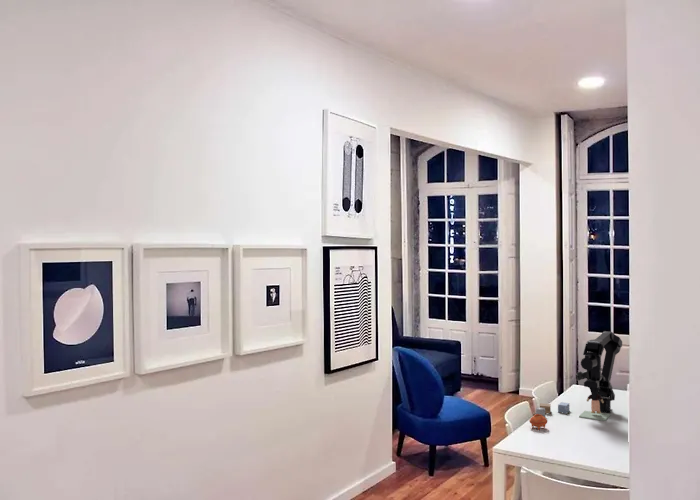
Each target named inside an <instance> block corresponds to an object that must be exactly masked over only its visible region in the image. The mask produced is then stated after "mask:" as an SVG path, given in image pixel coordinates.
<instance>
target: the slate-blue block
mask: <svg viewBox="0 0 700 500" xmlns="http://www.w3.org/2000/svg"><path fill="white" fill-rule="evenodd" d="M568 411H569V412H570V403H569V402H563V401H562V402H560V403H558V404H557V412H558V413H559V412H563V413H562V414H568V413H569V412H568Z"/></svg>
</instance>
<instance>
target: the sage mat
mask: <svg viewBox="0 0 700 500" xmlns="http://www.w3.org/2000/svg"><path fill="white" fill-rule="evenodd" d="M591 411H592V410H584V411H582V413H580V415H578V418H582V419H587V420H588V419H589V420H593V421H594V420H595V421H601V422H606V421H607V420H608V419H609V418H610V416H611V413H606V412H601V413H600V414H598V413H597V411H595V413H591Z"/></svg>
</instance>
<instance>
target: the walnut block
mask: <svg viewBox="0 0 700 500" xmlns="http://www.w3.org/2000/svg"><path fill="white" fill-rule="evenodd" d="M551 404H552V403H539V408H545V413H550V414H551V407H552V405H551Z"/></svg>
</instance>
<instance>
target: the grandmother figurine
mask: <svg viewBox="0 0 700 500" xmlns="http://www.w3.org/2000/svg"><path fill="white" fill-rule="evenodd" d="M599 399H600V400H601V402H602V403H604V401H603V399H602V397H601V396H600V395H598V394H597V396H596V399H593V398H592V394H591V393H590V394H589V395H588V396H587V399H586V402H589V401H590V400H591V403H590V404H591V405H590V407H591V410H590V411H591V413H595V412H597V413H598V414H600V413H602V412H600V403H599Z"/></svg>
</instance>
